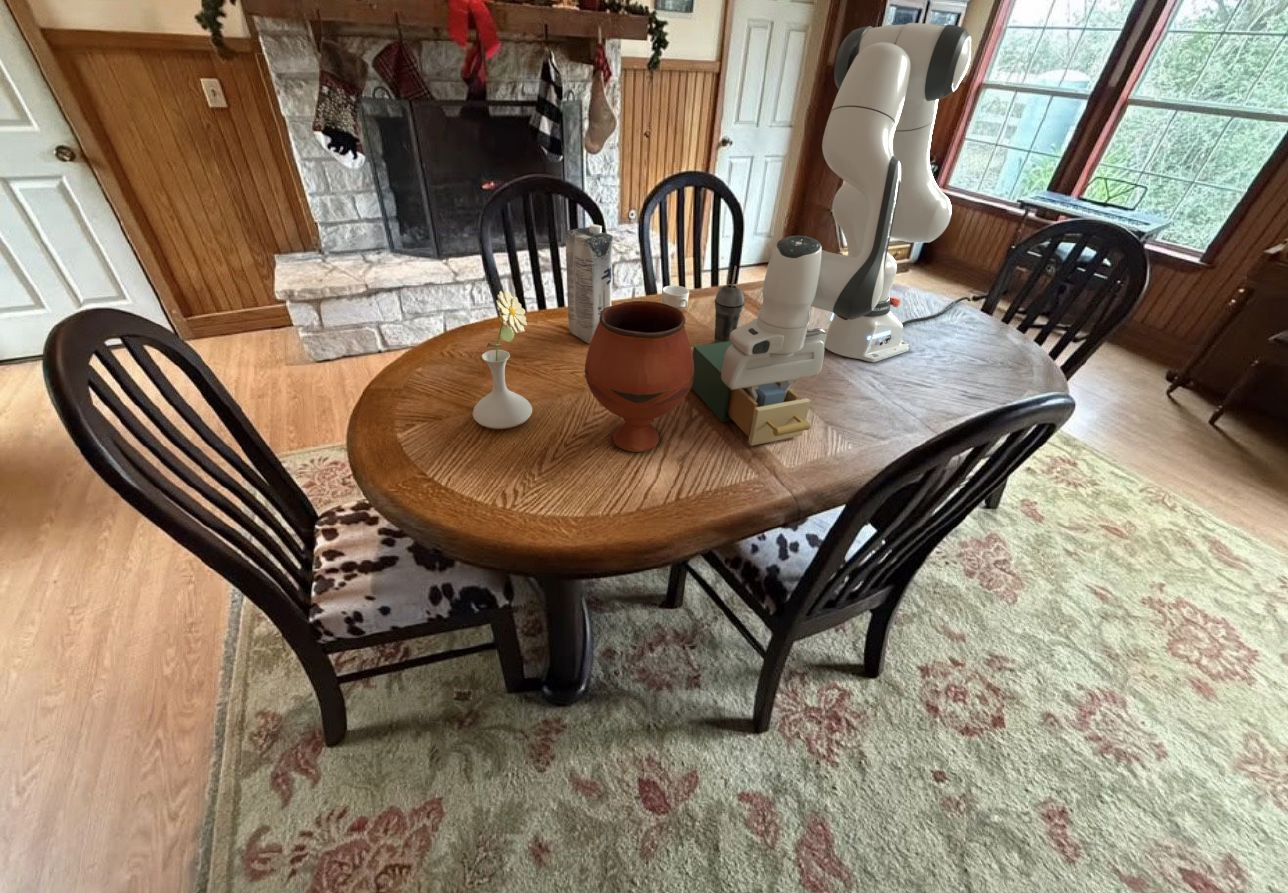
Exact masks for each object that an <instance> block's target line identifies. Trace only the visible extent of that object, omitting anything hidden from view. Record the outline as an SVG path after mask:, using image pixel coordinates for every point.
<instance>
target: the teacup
mask: <svg viewBox="0 0 1288 893" xmlns="http://www.w3.org/2000/svg"><path fill="white" fill-rule="evenodd" d="M689 297H690V290H689V289H688V288H687V287H684V286H681V285H666V286H664V287H663V288H662V290H661V301H662V302H661V303H663V304H667V305H669V306H672V307H675V308H677V309H679V310H680V311H682V310H684V309H686V308H688V305H689V302H688V301H689Z"/></svg>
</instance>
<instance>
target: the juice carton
mask: <svg viewBox="0 0 1288 893" xmlns="http://www.w3.org/2000/svg"><path fill="white" fill-rule="evenodd" d="M602 231H603V226H602V225H600V224H590V225H589V226H587V227H579V228H574V229H567V230H565V231H564V239H565V261H566V262H565V263H566V264H565V265H566V266H565V267H566V292H567V294H566V296H567V316H568V317H567V319H568V320H567V321H568V330H569V333H571V335H573V336H575V337H577V338H579V339H580V340H581V341H583V342H584V343H586V344H589V345H590V343H591V340H592V338H593V335H594V333H595V330H596V328H597V325H598V323H599V321H600V319H599V318H600V314H601V312H602V311H603V309H604V308H607V307H609V306H612V286H613V285H612V284H613V282H612V278H613V241H614V236H613V235H612V234H610V233H607V232H602Z"/></svg>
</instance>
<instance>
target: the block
mask: <svg viewBox="0 0 1288 893" xmlns="http://www.w3.org/2000/svg"><path fill="white" fill-rule="evenodd" d="M755 391H756V392H757V393H758V394H759V395H760V396H761V399H760V403H758V406H757V407H761V406H767V405H772V404H778V403H783V401H784V397H785V391H784V390H783V389H782V388H780V387H779V386H778V385H777V384H776V383H770V384H764V385H759V387H758V389H757V390H756V389H755Z"/></svg>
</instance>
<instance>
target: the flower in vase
mask: <svg viewBox="0 0 1288 893" xmlns="http://www.w3.org/2000/svg"><path fill="white" fill-rule="evenodd" d="M498 293H499V294H497V299H496V304H497V305H496V309H497V311H498V315H499V316H500V317H501V323H500V326H499V332H498V338H497V343H496V344H495V343H491V342H488V343H487V345H486V348H495V349H490V350H487V351H485V352H484V353H482V355H481V359H482V361H484V362H485V363H486V364H487V366H488V367H489V371H490V374H491V377H492V378H491V379H492V384H493V385H492V390H491V391H490V392H489V393H488V394H486V395H485V396H483V397H482V398H481V399H480V400H479V401H478V402H476V404H475V405H474V407H473V410H472V418H473V419H474V421H476V423H478V424H479V425H480V426H482V427H485V428H487V429H492V430H506V429H512V428H515V427H519V426H521V425H523V424H524V423H526V422H527V421H528V420H529V419H530V417H531V415H532V414H533V407H532V404H531V403H530V402H529V400H528V399H526V398H525V397H524V396H522V395H521V394H518V393H516V392H514V391H512V390H510V389H509V388H508V387H507V384H506V376H505V375H506V374H505V372H506V364H507V361H508V360H509V358H510V357H511V354H510V352H509V351H507V350H504V349H499V348H500V346H502V344H500V341H501V339H502V340H503V341H505V342H507V343H510V342H512V341H513V339H514V337H515V333H517V334H519V333H522V332H523V333H524V332H525V327H524V326H528V322H527V317H526V316H525V315H526V309H524V308H523V307H522V304H521V303H520V302H519V299H518V297H517V296H512V294H511V292H510V291H509V290H503V291H502V290H500V291H499V292H498ZM503 326H506V327H504V328H503Z"/></svg>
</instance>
